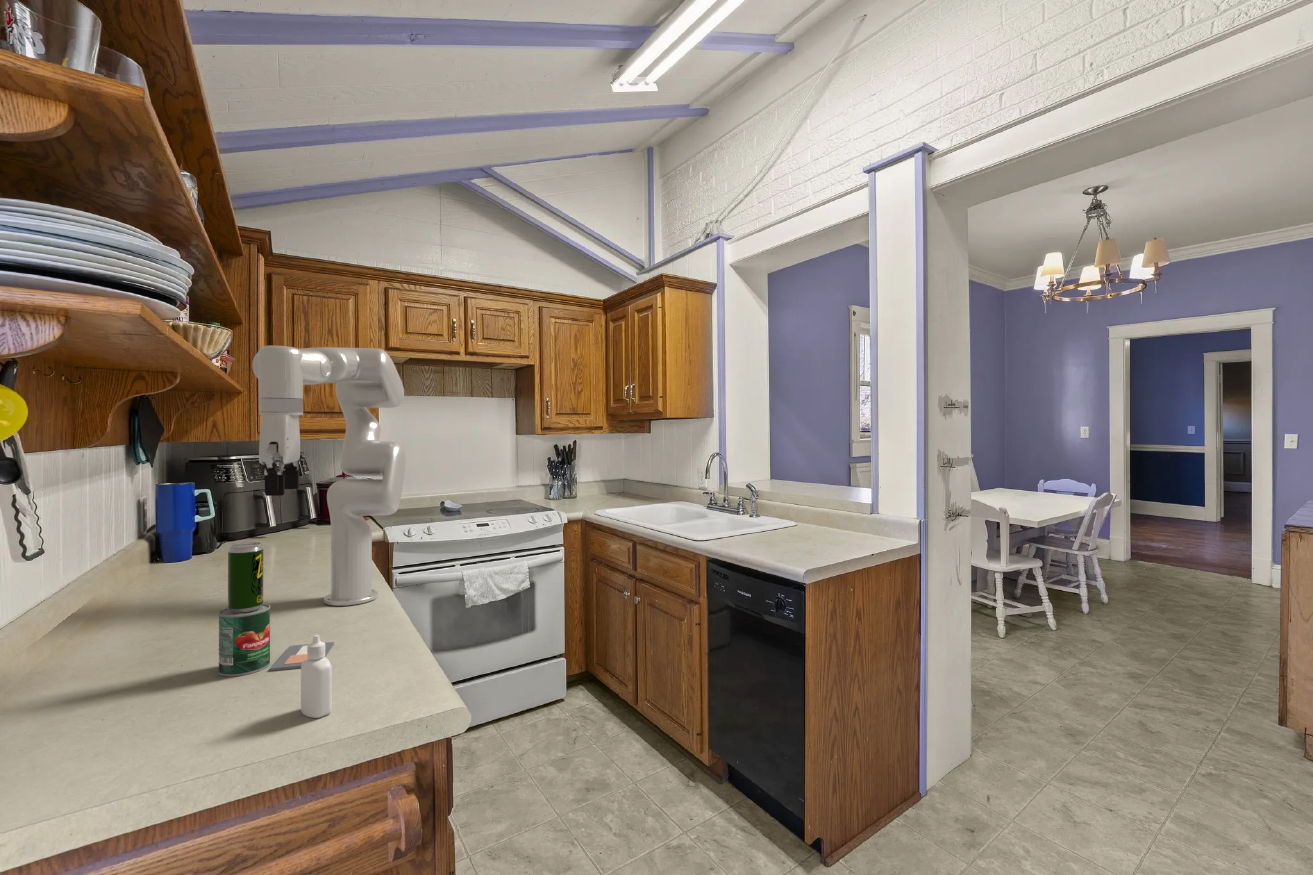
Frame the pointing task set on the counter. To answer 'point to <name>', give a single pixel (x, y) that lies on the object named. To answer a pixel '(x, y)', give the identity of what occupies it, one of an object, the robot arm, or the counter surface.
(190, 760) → the counter surface
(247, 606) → the beer can
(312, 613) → the counter surface
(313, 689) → the eye dropper bottle
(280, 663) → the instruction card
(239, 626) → the canned tomato
